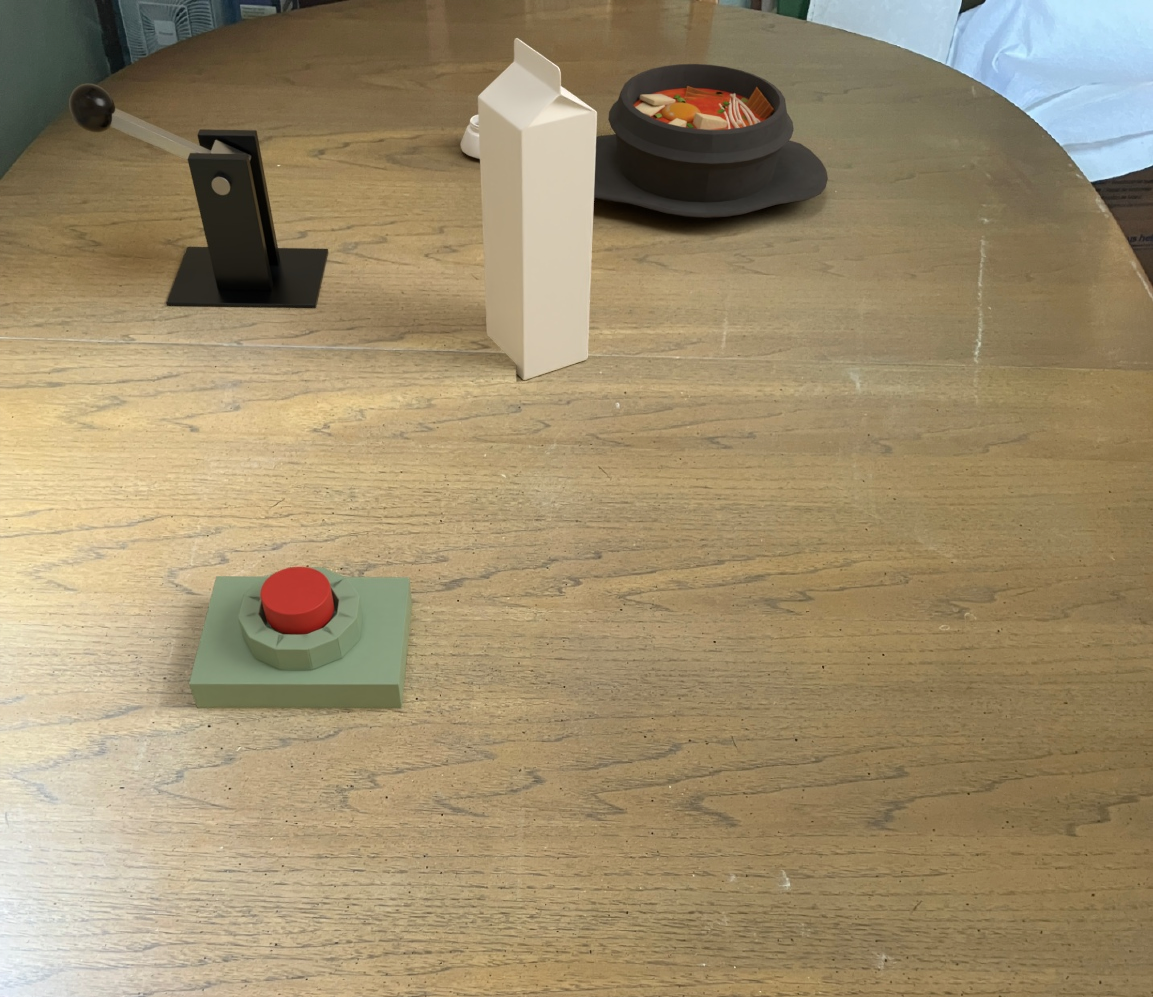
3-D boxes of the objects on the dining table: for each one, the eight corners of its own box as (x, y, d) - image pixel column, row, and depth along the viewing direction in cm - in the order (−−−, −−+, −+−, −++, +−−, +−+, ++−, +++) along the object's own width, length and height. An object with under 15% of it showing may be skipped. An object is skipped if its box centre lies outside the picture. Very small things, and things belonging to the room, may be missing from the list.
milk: (549, 324, 95) (554, 27, 78) (588, 361, 91) (602, 59, 74) (484, 344, 92) (474, 43, 75) (522, 382, 89) (520, 76, 72)
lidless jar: (516, 160, 113) (506, 138, 116) (516, 129, 110) (505, 107, 114) (466, 164, 112) (457, 141, 115) (464, 133, 110) (455, 110, 113)
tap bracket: (169, 316, 94) (129, 170, 85) (190, 259, 99) (155, 116, 90) (317, 318, 94) (294, 172, 85) (329, 261, 100) (309, 119, 91)
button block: (197, 708, 68) (180, 662, 64) (223, 601, 73) (209, 554, 70) (402, 709, 68) (395, 663, 65) (412, 602, 74) (406, 555, 71)
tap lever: (61, 127, 85) (67, 86, 83) (72, 109, 87) (78, 68, 85) (237, 203, 90) (247, 166, 87) (243, 184, 92) (253, 147, 89)
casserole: (806, 145, 117) (822, 55, 110) (840, 238, 105) (860, 143, 98) (560, 143, 115) (561, 51, 109) (566, 236, 104) (568, 140, 97)
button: (260, 635, 66) (255, 614, 65) (270, 587, 69) (265, 565, 68) (330, 635, 67) (326, 614, 65) (337, 587, 69) (334, 566, 68)
